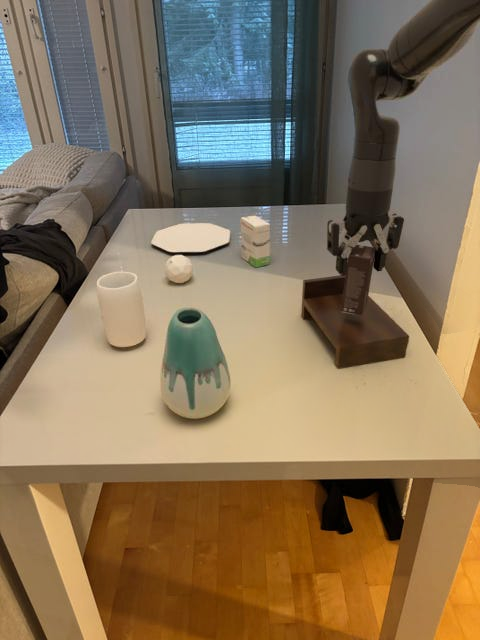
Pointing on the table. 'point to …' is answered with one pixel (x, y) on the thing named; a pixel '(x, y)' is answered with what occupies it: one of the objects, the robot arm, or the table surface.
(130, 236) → the table surface
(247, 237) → the ink box
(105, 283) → the cup
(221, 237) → the plate
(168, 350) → the vase
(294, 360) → the table surface
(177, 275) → the ornament
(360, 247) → the box
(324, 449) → the table surface
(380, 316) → the rack
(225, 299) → the table surface
